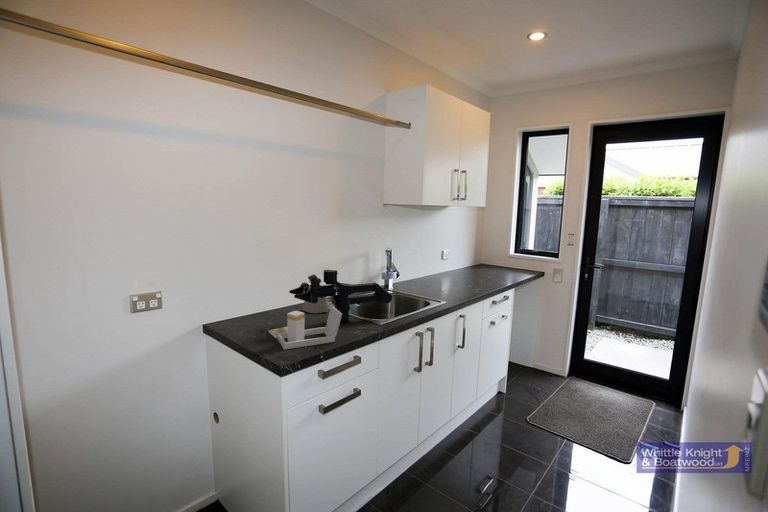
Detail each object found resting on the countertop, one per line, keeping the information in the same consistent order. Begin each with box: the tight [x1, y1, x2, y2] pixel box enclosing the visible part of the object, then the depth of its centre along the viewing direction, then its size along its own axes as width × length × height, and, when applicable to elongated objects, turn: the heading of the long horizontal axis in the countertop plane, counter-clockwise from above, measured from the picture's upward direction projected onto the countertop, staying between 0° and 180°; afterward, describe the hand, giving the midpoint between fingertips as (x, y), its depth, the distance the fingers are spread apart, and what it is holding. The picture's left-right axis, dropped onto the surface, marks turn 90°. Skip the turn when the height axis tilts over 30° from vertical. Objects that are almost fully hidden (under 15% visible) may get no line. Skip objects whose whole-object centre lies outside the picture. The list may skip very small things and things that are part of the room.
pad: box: [267, 326, 288, 339], centre depth 169 cm, size 10×10×1 cm
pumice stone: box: [301, 297, 330, 314], centre depth 202 cm, size 15×8×10 cm, turn 77°
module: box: [286, 310, 306, 342], centre depth 157 cm, size 5×5×13 cm
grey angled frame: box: [276, 305, 342, 350], centre depth 161 cm, size 25×13×12 cm, turn 117°
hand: (291, 294), depth 173 cm, fingers open, 9 cm apart
